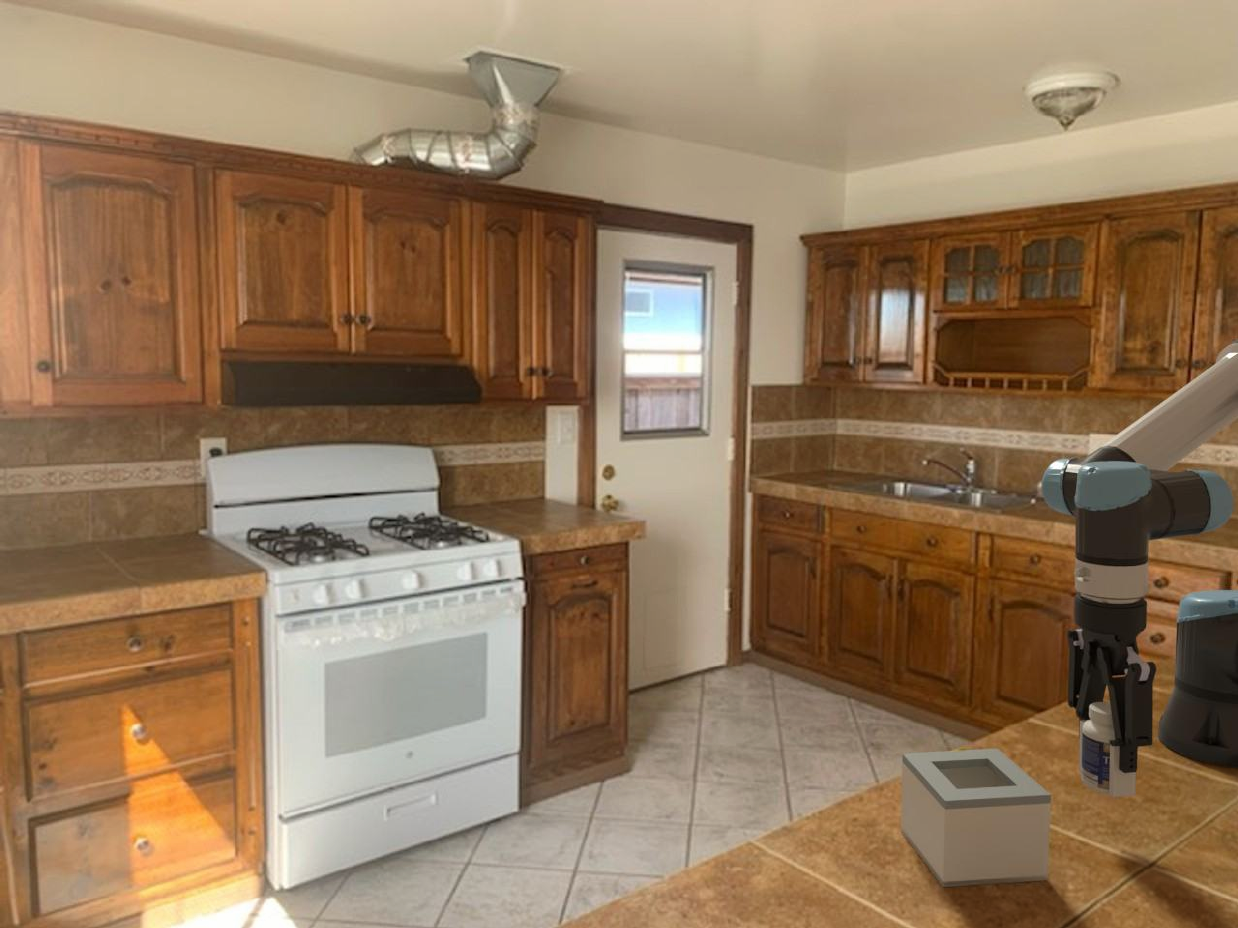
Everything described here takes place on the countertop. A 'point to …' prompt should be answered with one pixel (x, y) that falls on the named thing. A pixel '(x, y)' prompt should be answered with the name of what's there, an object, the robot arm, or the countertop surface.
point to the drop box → (975, 817)
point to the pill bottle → (1097, 747)
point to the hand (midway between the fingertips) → (1106, 782)
